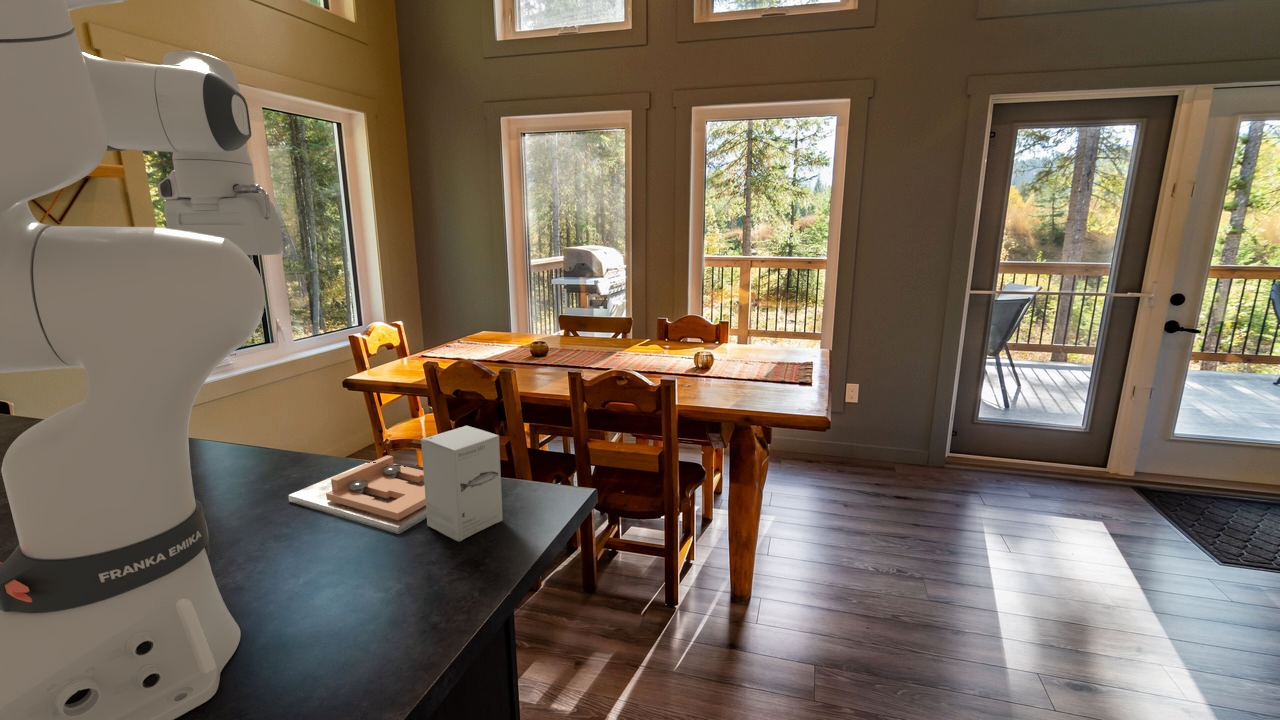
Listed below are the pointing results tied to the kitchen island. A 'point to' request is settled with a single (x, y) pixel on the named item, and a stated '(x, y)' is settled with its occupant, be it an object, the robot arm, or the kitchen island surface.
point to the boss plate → (317, 500)
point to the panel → (380, 489)
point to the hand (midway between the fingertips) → (232, 286)
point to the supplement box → (462, 481)
